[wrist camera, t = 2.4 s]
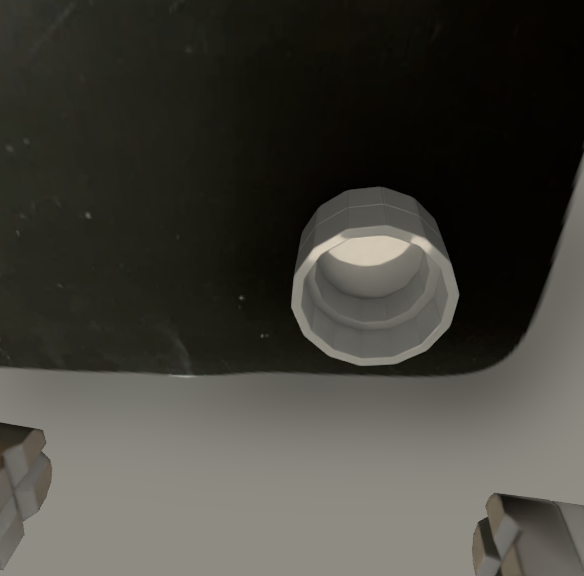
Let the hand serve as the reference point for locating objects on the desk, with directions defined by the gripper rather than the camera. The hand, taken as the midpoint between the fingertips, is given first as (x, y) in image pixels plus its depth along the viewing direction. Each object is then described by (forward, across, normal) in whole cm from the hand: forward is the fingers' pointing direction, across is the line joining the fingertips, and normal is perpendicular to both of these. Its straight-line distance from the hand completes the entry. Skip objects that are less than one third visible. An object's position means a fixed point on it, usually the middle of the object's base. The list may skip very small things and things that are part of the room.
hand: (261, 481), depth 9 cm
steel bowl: (+15, -3, +2) cm, 16 cm away
